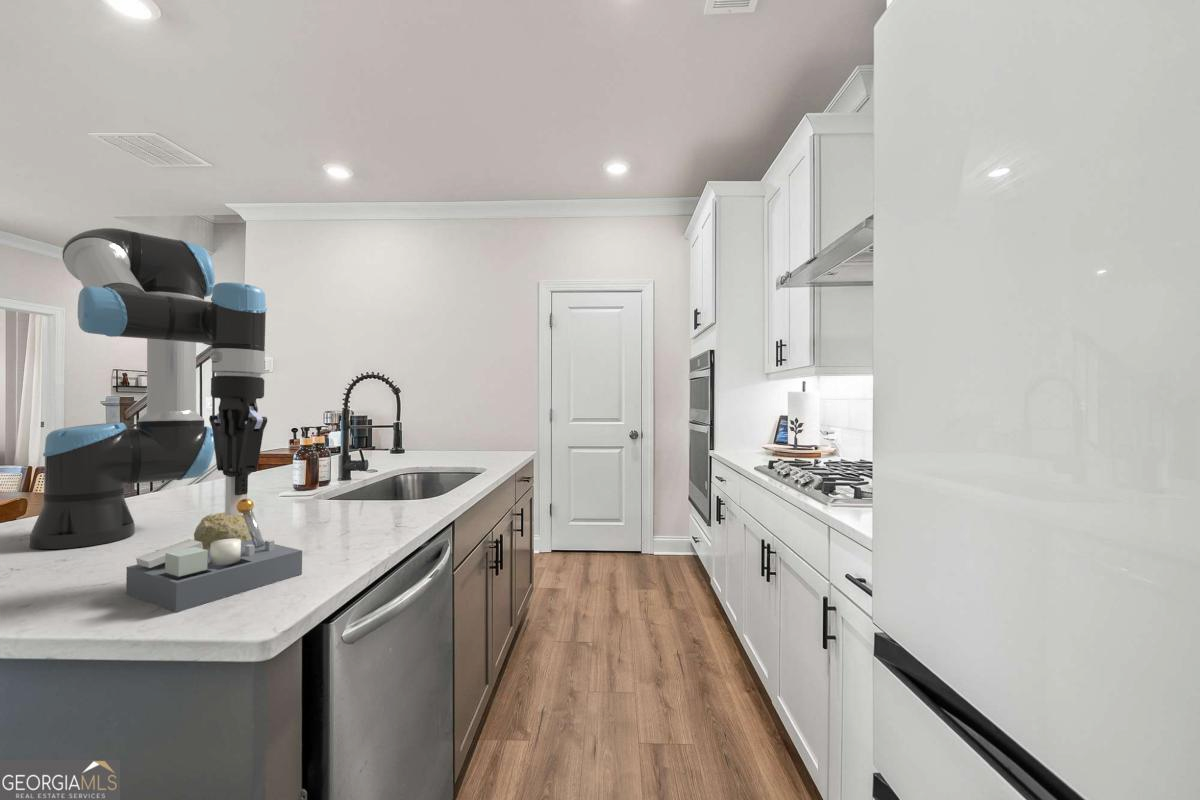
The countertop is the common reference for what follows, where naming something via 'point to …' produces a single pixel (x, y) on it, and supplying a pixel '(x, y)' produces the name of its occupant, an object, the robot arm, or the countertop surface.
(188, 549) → the button square
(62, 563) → the countertop surface
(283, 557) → the panel
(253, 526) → the lever
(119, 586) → the countertop surface
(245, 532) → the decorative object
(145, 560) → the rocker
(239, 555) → the button round
